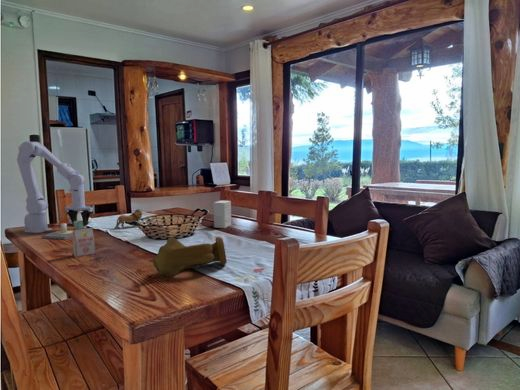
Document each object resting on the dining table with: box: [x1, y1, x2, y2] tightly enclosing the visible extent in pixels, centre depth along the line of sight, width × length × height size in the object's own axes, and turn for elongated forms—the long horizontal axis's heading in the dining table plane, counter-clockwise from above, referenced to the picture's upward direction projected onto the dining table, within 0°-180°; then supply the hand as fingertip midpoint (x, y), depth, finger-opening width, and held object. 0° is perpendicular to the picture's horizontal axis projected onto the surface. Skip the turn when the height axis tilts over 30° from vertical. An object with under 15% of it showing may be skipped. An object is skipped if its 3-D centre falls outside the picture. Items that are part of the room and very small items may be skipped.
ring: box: [73, 221, 88, 230], centre depth 181 cm, size 6×6×3 cm
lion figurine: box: [114, 208, 143, 230], centre depth 186 cm, size 15×5×9 cm, turn 130°
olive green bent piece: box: [152, 236, 227, 277], centre depth 121 cm, size 18×13×22 cm
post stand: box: [42, 222, 74, 240], centre depth 170 cm, size 12×13×6 cm
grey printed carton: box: [72, 227, 96, 258], centre depth 138 cm, size 4×7×10 cm, turn 129°
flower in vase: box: [68, 185, 93, 225], centre depth 194 cm, size 13×11×25 cm
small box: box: [213, 200, 232, 229], centre depth 187 cm, size 8×6×13 cm
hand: (80, 225), depth 181 cm, fingers closed on ring, 6 cm apart
